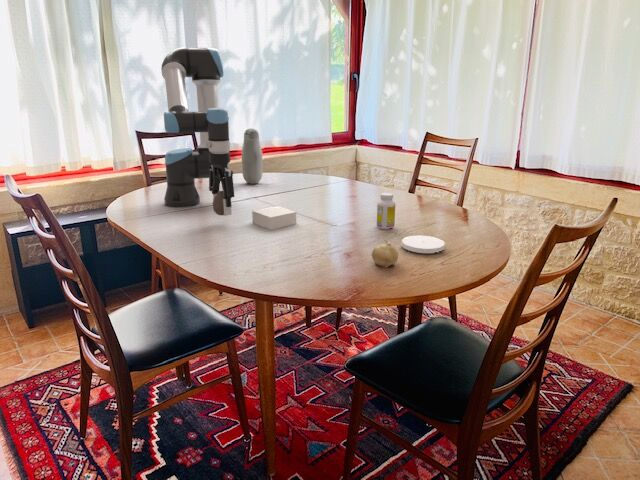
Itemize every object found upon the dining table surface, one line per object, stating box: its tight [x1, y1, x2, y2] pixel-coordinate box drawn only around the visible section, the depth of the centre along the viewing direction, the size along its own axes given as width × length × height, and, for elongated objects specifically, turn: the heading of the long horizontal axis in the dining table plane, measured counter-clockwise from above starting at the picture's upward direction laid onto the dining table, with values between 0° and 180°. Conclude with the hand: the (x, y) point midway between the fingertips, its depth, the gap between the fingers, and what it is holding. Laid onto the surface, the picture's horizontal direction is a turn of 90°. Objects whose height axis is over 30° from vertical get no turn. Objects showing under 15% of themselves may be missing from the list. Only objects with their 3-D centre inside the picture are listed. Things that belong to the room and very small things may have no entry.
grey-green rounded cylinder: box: [241, 128, 263, 185], centre depth 259 cm, size 10×10×28 cm
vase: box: [212, 190, 225, 216], centre depth 190 cm, size 7×7×9 cm
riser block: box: [251, 205, 297, 230], centre depth 194 cm, size 12×12×5 cm
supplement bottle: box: [376, 192, 396, 230], centre depth 188 cm, size 7×7×13 cm
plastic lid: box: [401, 234, 446, 254], centre depth 168 cm, size 14×14×2 cm
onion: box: [371, 240, 399, 268], centre depth 153 cm, size 8×8×7 cm
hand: (222, 212), depth 192 cm, fingers closed on vase, 7 cm apart
